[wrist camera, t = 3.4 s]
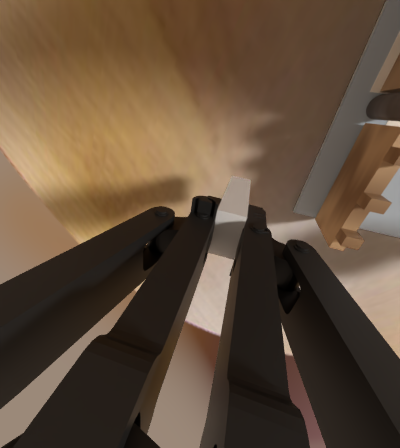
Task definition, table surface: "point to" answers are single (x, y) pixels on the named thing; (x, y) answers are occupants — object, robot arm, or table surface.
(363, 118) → the card
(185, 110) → the table surface
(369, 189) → the notched wooden bar
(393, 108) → the fence fixed
